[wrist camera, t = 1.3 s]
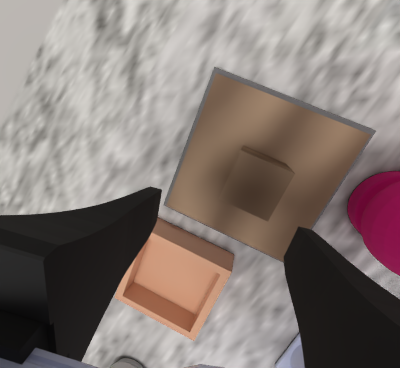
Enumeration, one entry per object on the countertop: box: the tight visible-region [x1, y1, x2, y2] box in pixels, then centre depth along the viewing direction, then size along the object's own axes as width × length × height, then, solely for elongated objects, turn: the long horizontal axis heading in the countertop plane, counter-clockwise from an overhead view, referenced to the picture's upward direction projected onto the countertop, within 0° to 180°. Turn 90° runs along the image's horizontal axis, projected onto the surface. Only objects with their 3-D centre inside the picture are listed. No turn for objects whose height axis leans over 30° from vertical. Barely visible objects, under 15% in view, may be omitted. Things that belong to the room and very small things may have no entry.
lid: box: [166, 73, 371, 262], centre depth 18 cm, size 13×13×5 cm
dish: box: [115, 217, 234, 341], centre depth 24 cm, size 10×10×3 cm
